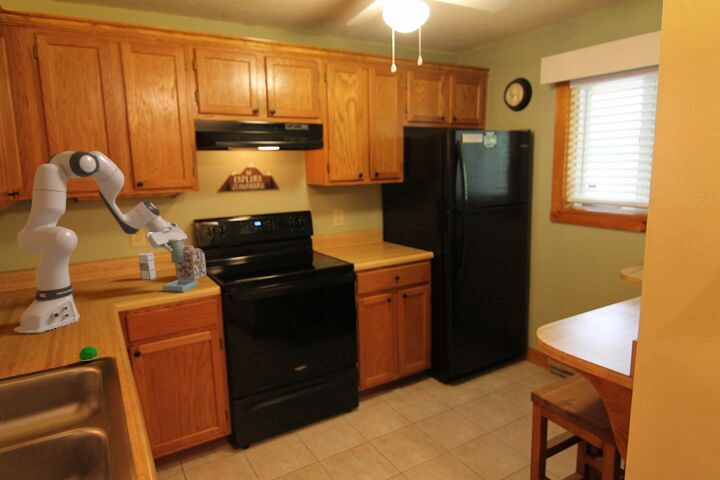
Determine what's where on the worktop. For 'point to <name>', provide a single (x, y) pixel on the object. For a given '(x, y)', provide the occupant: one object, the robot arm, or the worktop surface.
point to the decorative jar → (191, 264)
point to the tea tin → (176, 250)
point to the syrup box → (146, 266)
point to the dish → (180, 285)
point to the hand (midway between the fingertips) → (177, 250)
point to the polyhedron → (88, 353)
